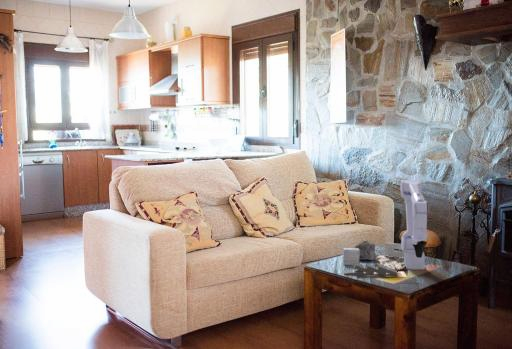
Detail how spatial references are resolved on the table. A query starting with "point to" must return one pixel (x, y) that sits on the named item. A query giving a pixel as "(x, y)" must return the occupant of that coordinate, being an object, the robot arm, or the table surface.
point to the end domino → (353, 272)
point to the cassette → (391, 252)
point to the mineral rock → (366, 250)
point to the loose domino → (387, 269)
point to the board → (387, 274)
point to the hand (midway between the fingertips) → (419, 257)
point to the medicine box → (350, 256)
